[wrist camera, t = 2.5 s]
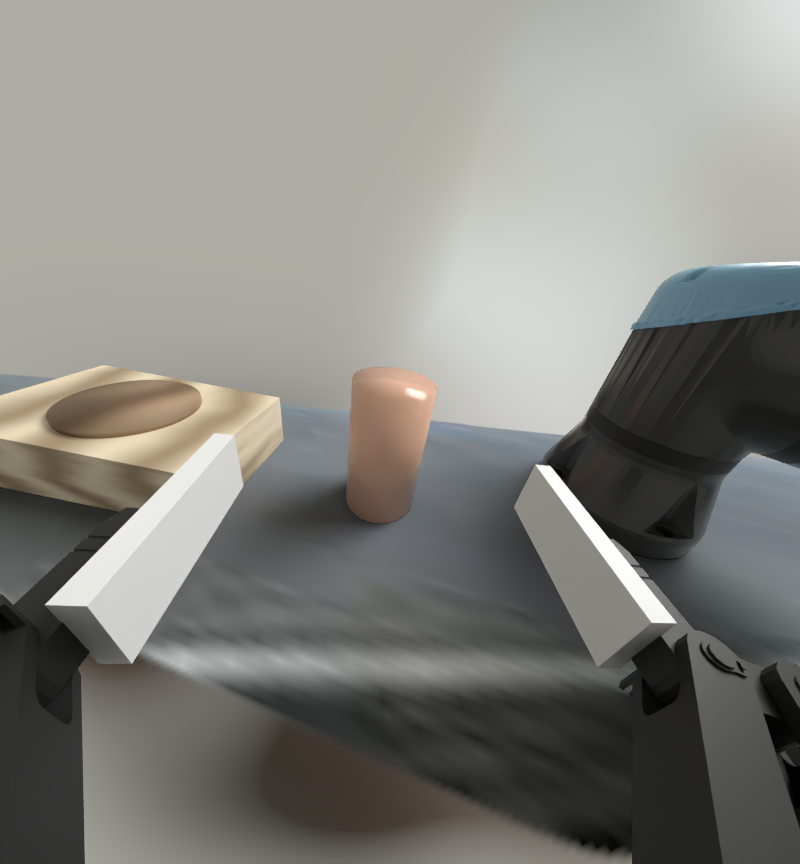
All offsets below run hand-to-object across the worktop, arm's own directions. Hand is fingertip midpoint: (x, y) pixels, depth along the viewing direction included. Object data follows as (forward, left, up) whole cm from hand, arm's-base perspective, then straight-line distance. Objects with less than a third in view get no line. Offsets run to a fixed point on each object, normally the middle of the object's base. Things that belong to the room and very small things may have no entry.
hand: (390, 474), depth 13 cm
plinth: (+24, +8, -12) cm, 28 cm away
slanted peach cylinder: (+7, -7, -12) cm, 16 cm away
